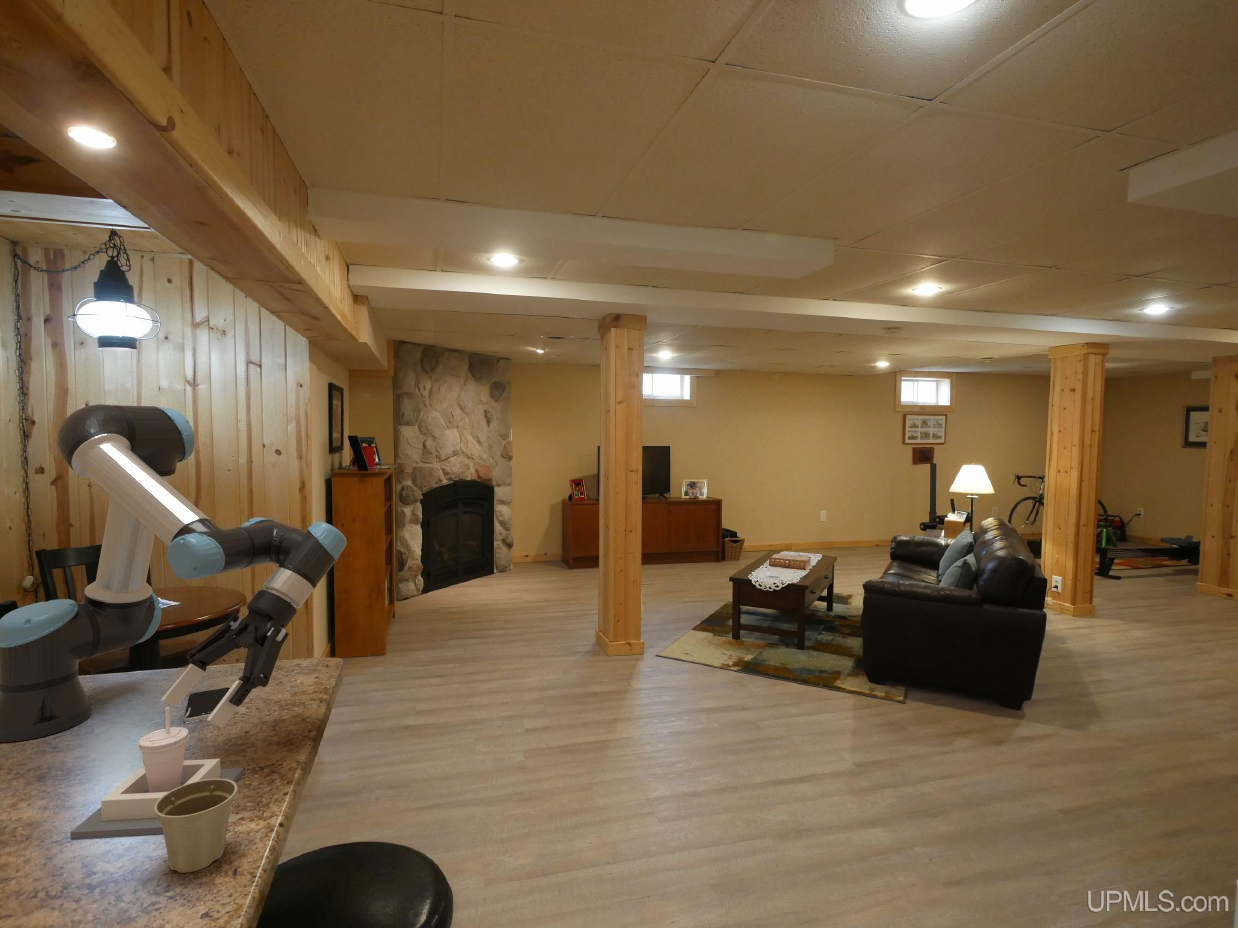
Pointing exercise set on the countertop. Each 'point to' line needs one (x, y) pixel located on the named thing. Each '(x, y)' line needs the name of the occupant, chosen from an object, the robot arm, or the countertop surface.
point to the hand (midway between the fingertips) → (190, 713)
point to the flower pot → (196, 822)
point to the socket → (143, 802)
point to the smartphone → (203, 704)
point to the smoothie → (164, 756)
